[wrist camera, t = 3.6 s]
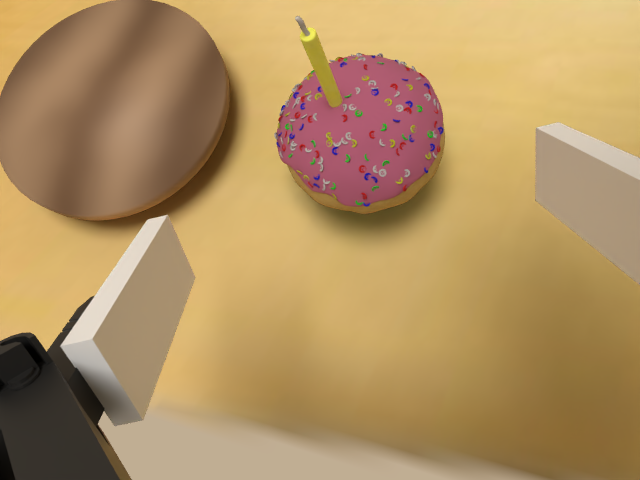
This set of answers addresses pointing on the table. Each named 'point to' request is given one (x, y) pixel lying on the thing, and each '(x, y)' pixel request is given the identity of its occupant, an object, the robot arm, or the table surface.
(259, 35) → the table surface
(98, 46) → the brown plate
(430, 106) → the cupcake
